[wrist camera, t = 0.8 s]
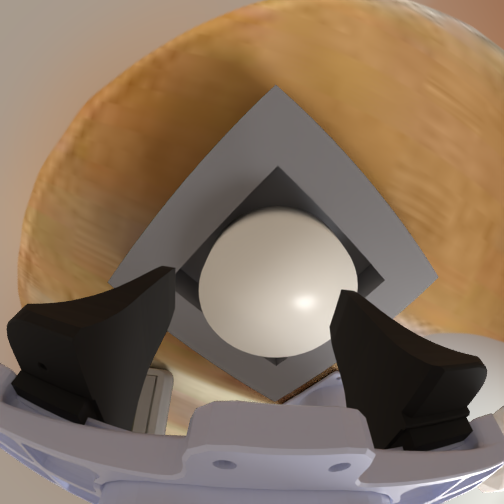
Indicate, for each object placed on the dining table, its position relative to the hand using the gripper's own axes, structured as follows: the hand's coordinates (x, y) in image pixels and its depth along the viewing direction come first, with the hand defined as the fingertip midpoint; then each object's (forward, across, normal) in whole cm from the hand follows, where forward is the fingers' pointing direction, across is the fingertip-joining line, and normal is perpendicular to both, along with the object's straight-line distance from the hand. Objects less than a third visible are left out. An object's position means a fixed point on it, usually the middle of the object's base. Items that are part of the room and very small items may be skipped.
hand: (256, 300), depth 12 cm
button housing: (+10, -2, +3) cm, 11 cm away
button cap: (+8, -2, +3) cm, 9 cm away
